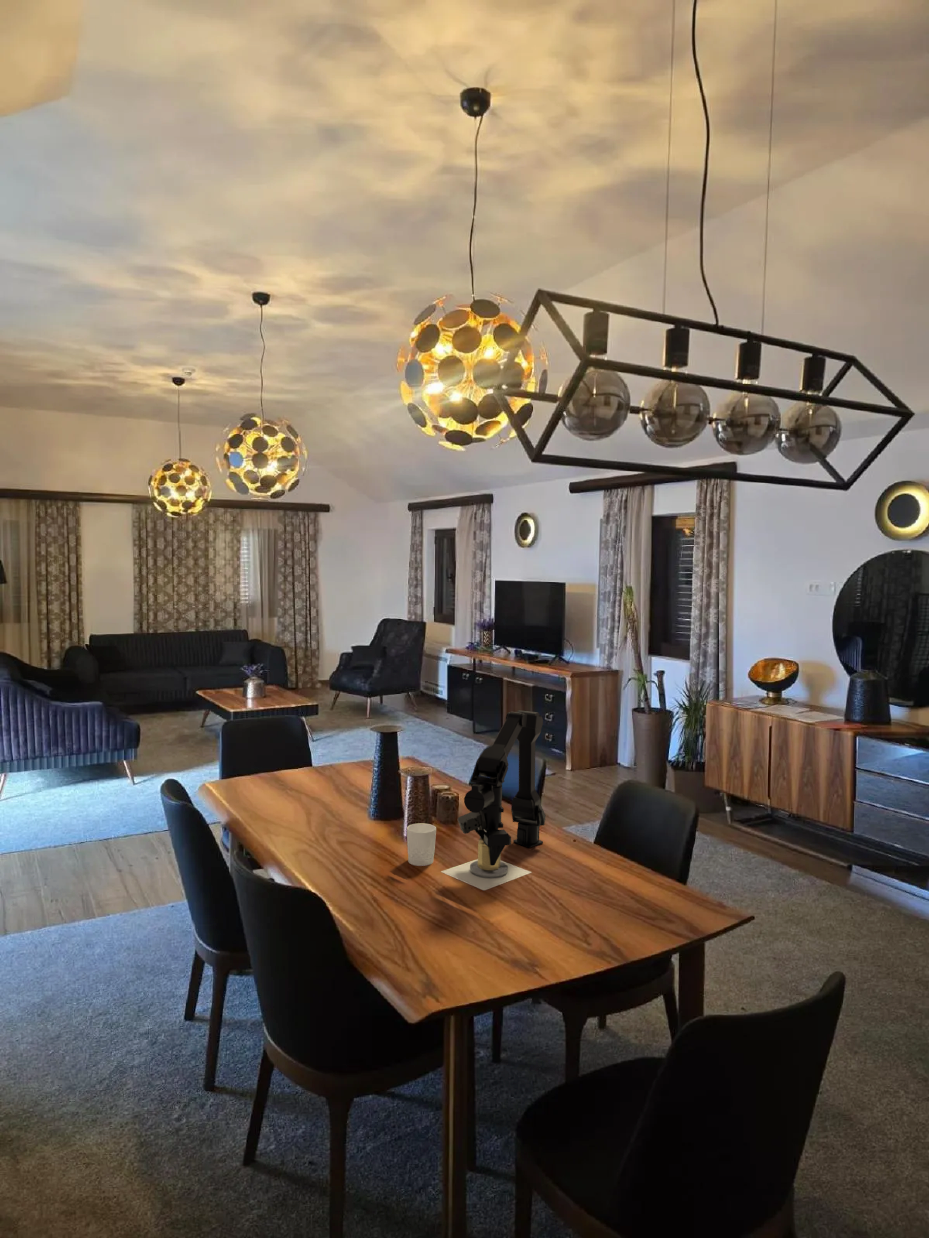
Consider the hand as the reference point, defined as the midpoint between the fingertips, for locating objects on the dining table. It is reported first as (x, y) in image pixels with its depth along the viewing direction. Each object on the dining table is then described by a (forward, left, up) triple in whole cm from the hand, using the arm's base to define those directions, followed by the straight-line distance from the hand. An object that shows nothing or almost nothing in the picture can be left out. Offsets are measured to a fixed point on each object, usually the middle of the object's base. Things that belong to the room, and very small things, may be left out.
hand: (489, 860), depth 206 cm
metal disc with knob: (0, 0, -3) cm, 3 cm away
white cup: (+9, -17, -4) cm, 20 cm away
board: (+1, 0, -4) cm, 4 cm away
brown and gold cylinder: (0, 0, -1) cm, 1 cm away
